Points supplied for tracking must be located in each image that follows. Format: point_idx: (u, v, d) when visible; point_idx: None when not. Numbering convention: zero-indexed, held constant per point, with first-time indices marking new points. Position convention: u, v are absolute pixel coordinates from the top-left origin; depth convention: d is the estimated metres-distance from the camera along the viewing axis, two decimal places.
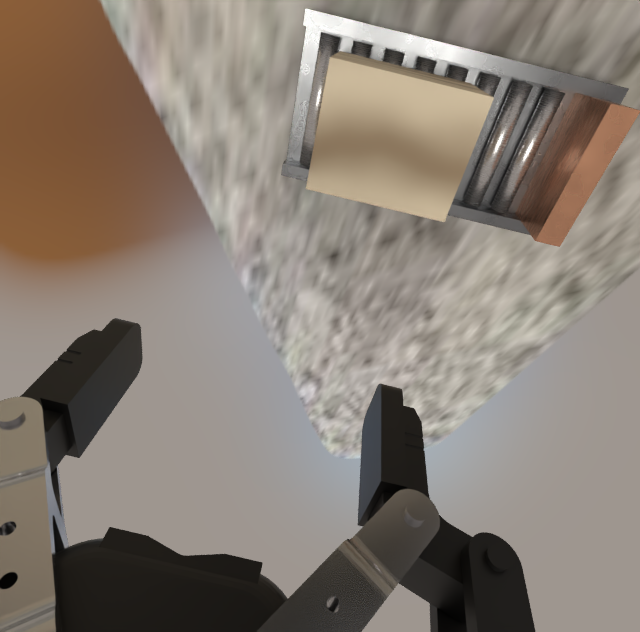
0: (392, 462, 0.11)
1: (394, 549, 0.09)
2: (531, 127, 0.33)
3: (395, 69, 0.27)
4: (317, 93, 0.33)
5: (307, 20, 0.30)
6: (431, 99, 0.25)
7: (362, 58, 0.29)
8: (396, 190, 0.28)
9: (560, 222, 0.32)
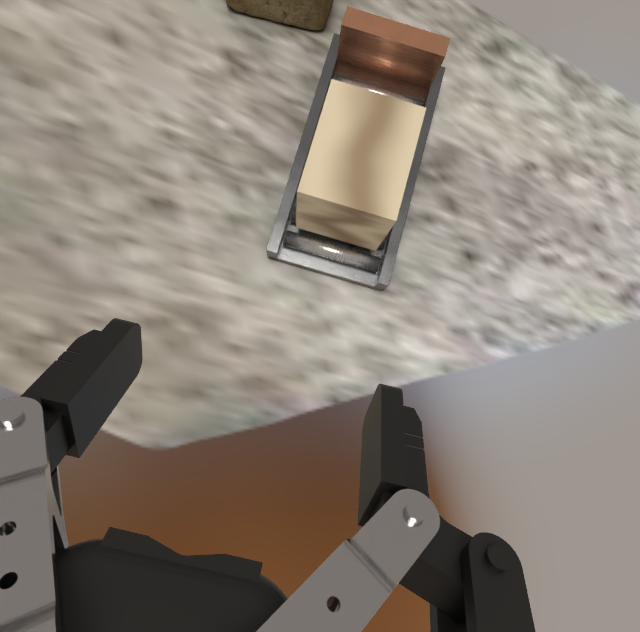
0: (392, 462, 0.11)
1: (394, 549, 0.09)
2: None
3: None
4: (323, 248, 0.40)
5: (274, 249, 0.39)
6: (330, 120, 0.33)
7: None
8: (398, 145, 0.33)
9: (428, 41, 0.39)
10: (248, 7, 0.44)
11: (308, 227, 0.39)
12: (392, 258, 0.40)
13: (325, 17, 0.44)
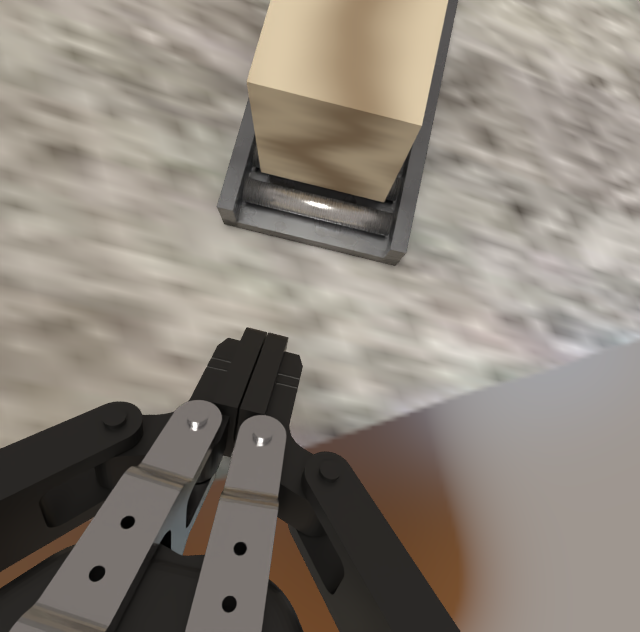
0: (256, 394, 0.12)
1: (262, 472, 0.10)
2: None
3: None
4: (305, 201, 0.26)
5: (228, 205, 0.26)
6: None
7: None
8: (418, 3, 0.20)
9: None
10: None
11: (279, 168, 0.25)
12: (410, 212, 0.26)
13: None
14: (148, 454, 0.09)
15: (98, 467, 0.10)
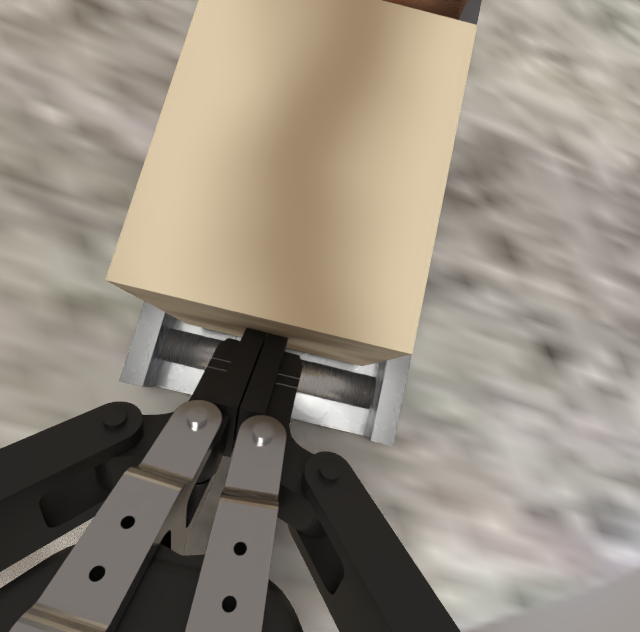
0: (256, 394, 0.12)
1: (262, 471, 0.10)
2: None
3: None
4: None
5: (136, 378, 0.18)
6: (208, 68, 0.12)
7: None
8: (407, 129, 0.12)
9: None
10: None
11: (209, 327, 0.17)
12: (399, 383, 0.18)
13: None
14: (148, 454, 0.09)
15: (98, 467, 0.10)
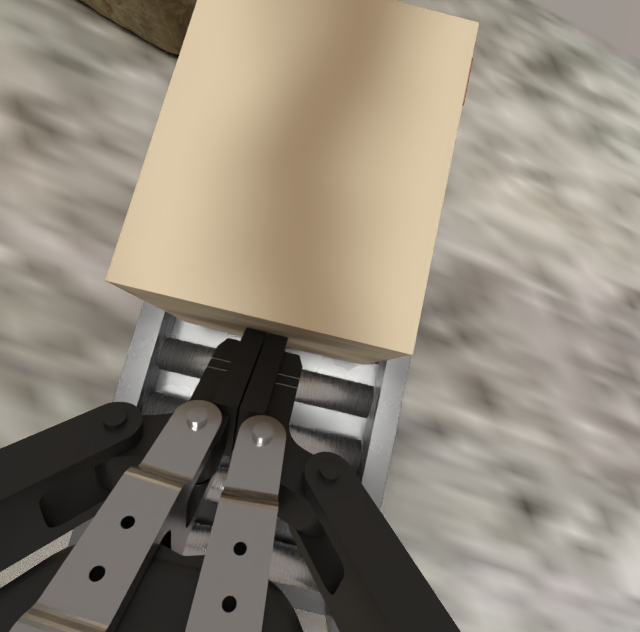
0: (256, 394, 0.12)
1: (262, 471, 0.10)
2: None
3: None
4: None
5: None
6: (208, 67, 0.11)
7: None
8: (408, 128, 0.12)
9: None
10: None
11: (209, 326, 0.17)
12: None
13: (178, 33, 0.21)
14: (148, 454, 0.09)
15: (98, 467, 0.10)
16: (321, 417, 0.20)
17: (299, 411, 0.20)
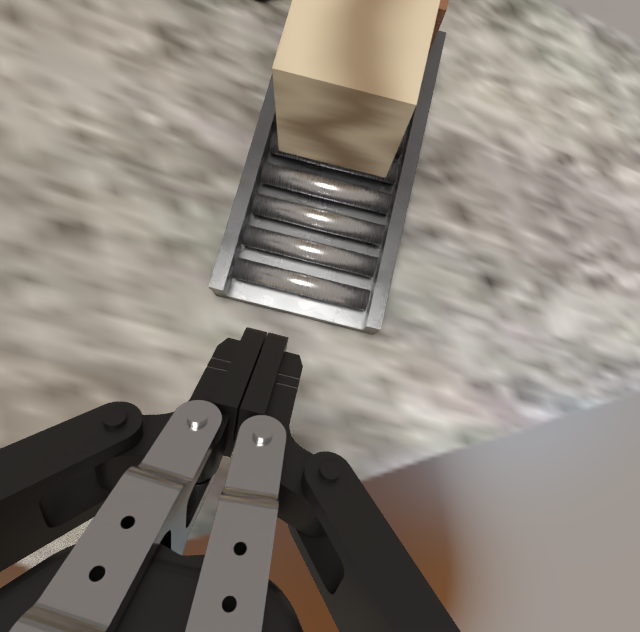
0: (256, 394, 0.12)
1: (262, 472, 0.10)
2: None
3: None
4: (289, 280, 0.29)
5: (219, 285, 0.28)
6: None
7: None
8: (414, 4, 0.23)
9: None
10: None
11: (295, 147, 0.29)
12: (385, 291, 0.29)
13: None
14: (148, 454, 0.09)
15: (98, 466, 0.10)
16: (358, 217, 0.31)
17: (345, 213, 0.31)
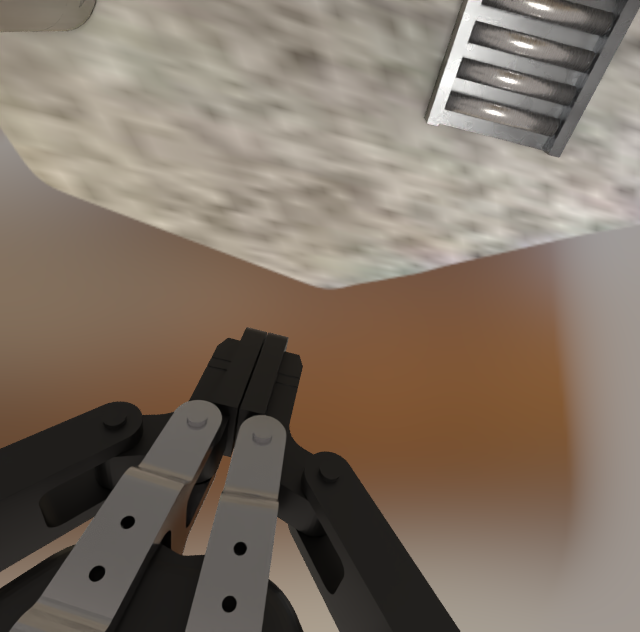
0: (256, 394, 0.12)
1: (262, 472, 0.10)
2: None
3: None
4: (492, 114, 0.35)
5: (435, 122, 0.36)
6: None
7: None
8: None
9: None
10: None
11: None
12: (573, 124, 0.35)
13: None
14: (148, 454, 0.09)
15: (98, 466, 0.10)
16: (569, 36, 0.33)
17: (557, 32, 0.33)
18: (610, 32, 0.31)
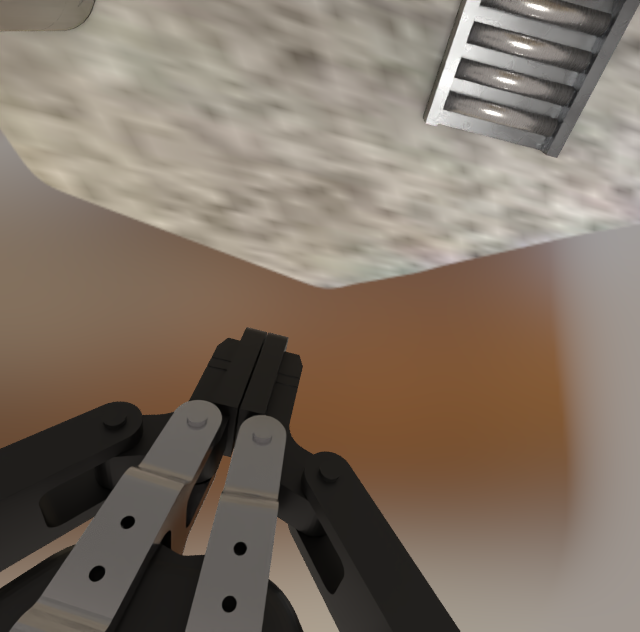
0: (256, 394, 0.12)
1: (262, 472, 0.10)
2: None
3: None
4: (490, 114, 0.36)
5: (433, 122, 0.36)
6: None
7: None
8: None
9: None
10: None
11: None
12: (571, 124, 0.35)
13: None
14: (148, 454, 0.09)
15: (98, 466, 0.10)
16: (567, 37, 0.33)
17: (555, 33, 0.33)
18: (608, 33, 0.31)
